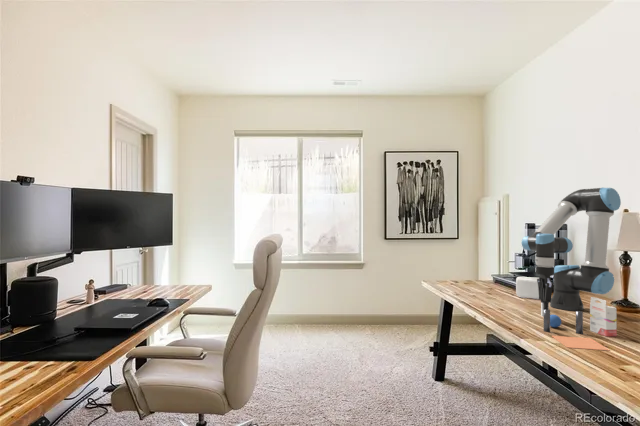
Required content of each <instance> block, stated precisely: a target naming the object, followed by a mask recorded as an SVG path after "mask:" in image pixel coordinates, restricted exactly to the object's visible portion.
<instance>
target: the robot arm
mask: <svg viewBox="0 0 640 426" xmlns="http://www.w3.org/2000/svg"><path fill="white" fill-rule="evenodd" d="M621 204H622V202H621V197H620V194H619V193H618V191H617V190H616V189H615V188H612V187H595V188H581V189H578V190H575V191H573V192H571V193H569V194H568V195H566V196H565V197H564V198H563V199H561V200H560V201H559V202H558V204H557V208H556V209H555V210H554V211H553V212H552V213H551V214H550V215H549V216H548V217H547V218H546V219H545V221H544V222H543V223H542V224H540V226H539V227H538V228H537V229H536V230H535V231H534V232H533V234H531V235H525V236H523V237H522V240H521V247H522V248H523V249H524V250H526V251H530V252H531V251H532V252H535V258H534V262H535V265H536V266H535V274H537V275H539V277H538V278H539V279H537V282H538V291H539V299H538V300H540V316H541V317H544V309H548V310H550V309H549V306H550V307H552V308H554V309H558V310H565V311H574V312H576V311H581V312H582V311H583V310H585V309H584V304H583V300H582V297H581V294H580V292H586V293H592V294H597V295H605V294H609V293H610V291H611V290H612V288H613V286H614V283H615V277H614V274H613V273H612V272H611V271H610V268H609V266H608V265H607V253H608V241H609V229H610V220H611V218H612V217H613V216H614V215H615V211H617V210H619V209H620V208H621ZM583 211H585V214H586V215H587V216H588V225H587V232H586V233H587V235H586V236H587V237H586V247H585V258H584V262H583V263H581V264H580V265H579V264H569V265H568V264H565V265H563V264H560V265H559V264H558V265H555V254H566V253H567V254H568V253H570V252H571V251H573V247H574V245H573V244H574V243H573V242H572V240H571V239H570V238H568V237H564V236H563V237H555V234H556V233H557V232H558V231H559V230H560V229H561V228H562V226H564V225H565V223H566V222H568V220H569V219H570V218H571V217H572V216H575V215H576V214H577V213H579V212H583ZM551 276H553V282H552V278H551Z"/></svg>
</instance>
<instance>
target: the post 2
mask: <svg viewBox="0 0 640 426" xmlns="http://www.w3.org/2000/svg"><path fill="white" fill-rule="evenodd" d="M583 315H584V311H582V310H581V311H575V333H576V334H578V335H583V334H584V316H583Z"/></svg>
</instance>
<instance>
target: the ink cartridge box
mask: <svg viewBox="0 0 640 426" xmlns="http://www.w3.org/2000/svg"><path fill="white" fill-rule="evenodd" d="M617 329H618V327H617V307H615V306H610V305H607V300H605V299H602V298H598V297H593V296H591V297H590V303H589V331H590V332H592V333H595V334H599V335H601V336H603V337H617V336H618V335H617V333H618V332H617Z"/></svg>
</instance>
